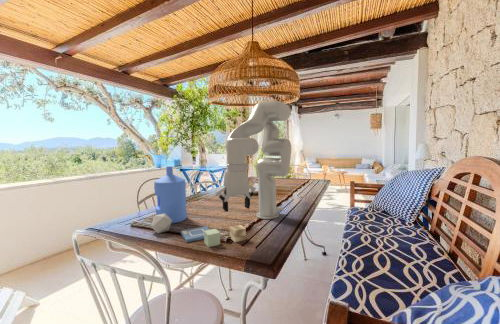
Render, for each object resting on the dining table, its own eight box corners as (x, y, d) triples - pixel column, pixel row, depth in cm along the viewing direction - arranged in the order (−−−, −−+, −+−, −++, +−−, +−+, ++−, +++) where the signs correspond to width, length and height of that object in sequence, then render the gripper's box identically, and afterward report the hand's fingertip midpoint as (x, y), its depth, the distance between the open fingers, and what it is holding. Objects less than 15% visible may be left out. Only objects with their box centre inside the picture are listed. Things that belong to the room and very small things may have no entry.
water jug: (191, 215, 136) (189, 165, 134) (180, 225, 121) (178, 168, 118) (164, 214, 138) (161, 165, 135) (150, 224, 122) (147, 168, 120)
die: (168, 227, 119) (154, 213, 117) (178, 221, 115) (165, 206, 113) (158, 239, 112) (143, 224, 110) (168, 233, 108) (154, 218, 106)
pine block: (240, 235, 107) (240, 224, 106) (245, 240, 102) (245, 228, 102) (230, 238, 104) (229, 226, 104) (234, 242, 100) (234, 230, 99)
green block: (215, 240, 102) (215, 228, 102) (220, 244, 98) (219, 232, 98) (204, 242, 100) (204, 230, 100) (208, 247, 96) (207, 235, 95)
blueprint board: (206, 228, 115) (206, 226, 115) (214, 236, 106) (214, 233, 106) (180, 233, 110) (180, 230, 110) (186, 242, 100) (186, 239, 100)
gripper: (250, 166, 108) (250, 204, 109) (213, 168, 100) (213, 209, 101) (259, 168, 101) (259, 208, 102) (219, 170, 93) (220, 214, 94)
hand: (236, 209), depth 102 cm, fingers open, 9 cm apart
